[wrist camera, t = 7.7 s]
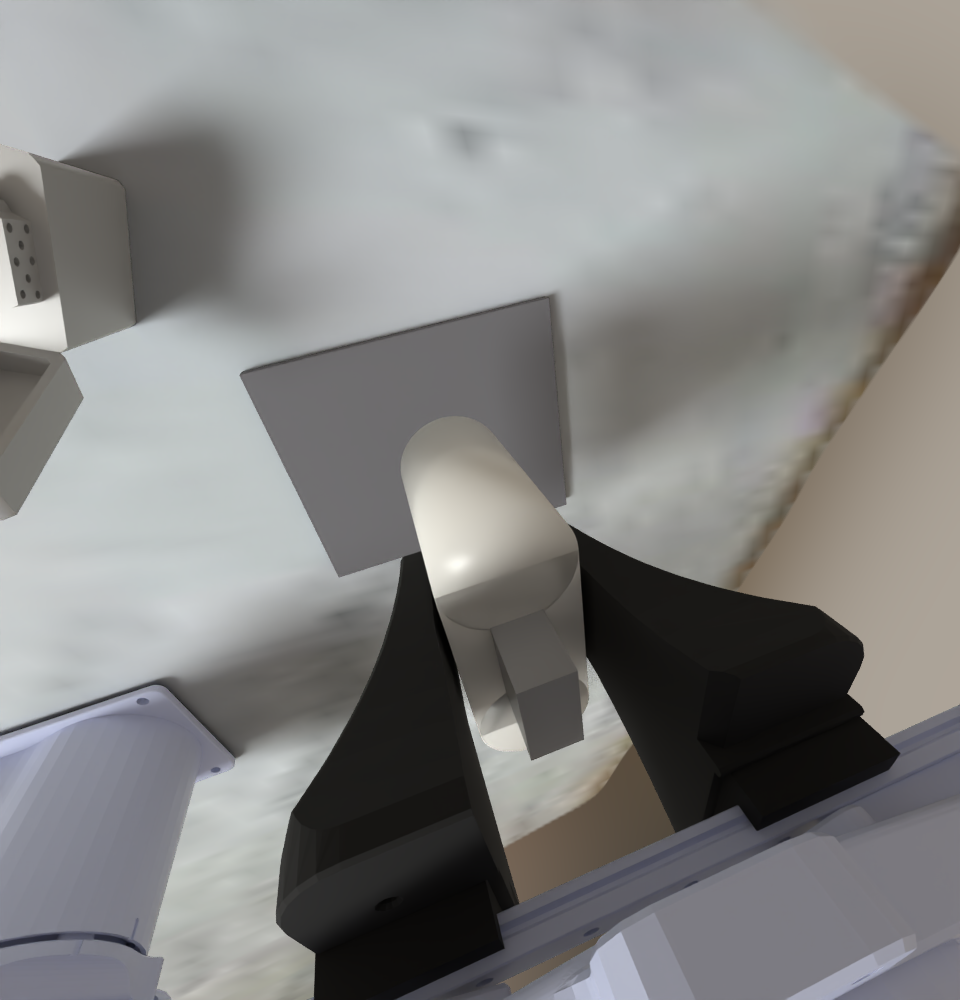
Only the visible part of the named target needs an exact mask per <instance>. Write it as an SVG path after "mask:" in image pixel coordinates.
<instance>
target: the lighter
mask: <svg viewBox="0 0 960 1000" xmlns="http://www.w3.org/2000/svg"><path fill="white" fill-rule="evenodd" d="M134 324H136V316H135V304H134V291H133V279H132V267H131V255H130V242H129V230H128V218H127V206H126V194H125V188H124V187H123V186H122V185H121V184H120V183H119V182H118V180H115V179H112V178H109V177H106V176H102V175H99V174H96V173H93V172H90V171H86V170H83V169H80V168H77V167H73V166H70V165H67V164H64V163H61V162H57V161H54V160H51V159H48V158H44V157H41V156H38V155H35V154H32V153H28V152H25V151H22V150H18V149H15V148H12V147H8V146H5V145H2V144H0V520H5V519H7V518H10V517H12V516H14V515H17V513H18V512H19V510H20V508H21V507H22V505H23V503H24V501H25V500H26V498H27V496H28V494H29V493H30V491H31V489H32V487H33V486H34V484H35V482H36V480H37V479H38V477H39V475H40V473H41V472H42V470H43V468H44V466H45V465H46V463H47V461H48V459H49V458H50V456H51V454H52V452H53V451H54V449H55V447H56V445H57V444H58V442H59V440H60V438H61V437H62V435H63V433H64V431H65V430H66V428H67V426H68V425H69V423H70V421H71V419H72V418H73V416H74V414H75V412H76V411H77V409H78V407H79V405H80V404H81V402H82V400H83V398H84V397H83V395H82V393H81V391H80V389H79V387H78V384H77V382H76V380H75V378H74V376H73V373H72V371H71V369H70V367H69V365H68V363H67V360H66V358H65V357H64V356H63V355H62V354H61V353H62V352H65V351H67V350H70V349H73V348H76V347H78V346H81V345H84V344H86V343H89V342H92V341H95V340H97V339H100V338H103V337H105V336H108V335H111V334H114V333H116V332H119V331H122V330H124V329H127V328H130V327H131V326H133V325H134Z"/></svg>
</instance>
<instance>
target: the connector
mask: <svg viewBox="0 0 960 1000" xmlns="http://www.w3.org/2000/svg"><path fill="white" fill-rule="evenodd" d="M401 476H402V480H403V484H404V488H405V492H406V495H407V499H408V503H409V507H410V510H411V514H412V518H413V522H414V525H415V529H416V533H417V537H418V540H419V544H420V548H421V552H422V555H423V559H424V563H425V567H426V570H427V574H428V578H429V582H430V585H431V589H432V593H433V597H434V600H435V603H436V606H437V609H438V612H439V615H440V618H441V621H442V624H443V627H444V629H445V632H446V635H447V638H448V641H449V644H450V647H451V650H452V653H453V656H454V659H455V662H456V665H457V668H458V671H459V674H460V677H461V680H462V683H463V686H464V689H465V691H466V694H467V697H468V700H469V703H470V706H471V709H472V712H473V715H474V718H475V721H476V724H477V727H478V730H479V733H480V736H481V738H482V740H483V741H484V743H485V744H486V745H488V746H489V747H491V748H493V749H496V750H499V751H507V752H513V751H522V750H528V753H529V755H530V758H531V761H532V760H534V759H537V758H539V757H542V756H544V755H547V754H549V753H552V752H554V751H556V750H559V749H561V748H564V747H566V746H569V745H571V744H574V743H576V742H579V741H581V740H584V734H583V723H582V714H583V712H584V711H585V709H586V706H587V704H588V700H589V690H588V676H587V661H586V647H585V633H584V619H583V605H582V591H581V576H580V562H579V549H578V542H577V539H576V536H575V534H574V532H573V531H572V529H571V528H570V526H569V525H568V524H567V523H566V521H565V520H564V519H563V518H562V517H561V515H560V514H559V513H558V512H557V510H556V509H555V508H554V507H553V506H552V504H551V503H550V502H549V501H548V500H547V498H546V497H545V496H544V495H543V494H542V492H541V491H540V490H539V489H538V488H537V486H536V485H535V484H534V483H533V481H532V480H531V479H530V478H529V477H528V475H527V474H526V473H525V472H524V471H523V469H522V468H521V467H520V466H519V465H518V463H517V462H516V461H515V460H514V458H513V457H512V456H511V455H510V454H509V452H508V451H507V450H506V449H505V448H504V446H503V445H502V444H501V443H500V442H499V440H498V439H497V438H496V437H495V436H494V434H493V433H492V432H491V431H490V430H489V429H488V428H487V427H486V426H485V425H483V424H482V423H480V422H478V421H476V420H474V419H471V418H468V417H462V416H450V417H444V418H440V419H437V420H434V421H432V422H430V423H428V424H426V425H425V426H423V427H422V428H421V429H419V430H418V431H417V432H416V433H415V434H414V435H413V436H412V437H411V439H410V440H409V442H408V443H407V445H406V447H405V449H404V452H403V455H402V459H401Z"/></svg>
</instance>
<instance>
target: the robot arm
mask: <svg viewBox="0 0 960 1000" xmlns="http://www.w3.org/2000/svg"><path fill="white" fill-rule="evenodd" d="M568 525H569V524H568ZM569 526H570V528H571V529H572V531H573V532H574V534H575V536H576V539H577V542H578V549H579V562H580V576H581V591H582V605H583V619H584V633H585V647H586V657H587V658H588V660H589V661H590V663H591V665H592V666H593V668H594V669H595V671H596V673H597V675H598V676H599V678H600V680H601V682H602V684H603V686H604V688H605V690H606V692H607V693H608V695H609V697H610V699H611V701H612V703H613V705H614V707H615V709H616V711H617V713H618V715H619V717H620V718H621V720H622V722H623V724H624V726H625V728H626V730H627V732H628V734H629V736H630V738H631V740H632V742H633V744H634V746H635V748H636V750H637V752H638V754H639V756H640V758H641V760H642V763H643V764H644V767H645V769H646V771H647V773H648V775H649V777H650V779H651V781H652V783H653V785H654V787H655V790H656V792H657V794H658V796H659V798H660V800H661V802H662V805H663V807H664V809H665V811H666V813H667V815H668V817H669V819H670V822H671V824H672V826H673V828H674V830H675V834H673V835H670V836H668V837H666V838H664V839H662V840H659V841H657V842H655V843H653V844H650V845H648V846H646V847H644V848H642V849H639V850H637V851H635V852H633V853H631V854H628V855H626V856H624V857H622V858H620V859H617V860H615V861H613V862H611V863H609V864H606V865H604V866H602V867H600V868H597V869H595V870H593V871H591V872H589V873H586V874H584V875H582V876H580V877H577V878H575V879H573V880H571V881H569V882H566V883H564V884H562V885H560V886H558V887H555V888H553V889H551V890H549V891H547V892H544V893H542V894H540V895H538V896H535V897H533V898H531V899H529V900H527V901H525V902H522V903H520V904H519V900H518V897H517V894H516V890H515V887H514V883H513V880H512V876H511V873H510V869H509V866H508V862H507V859H506V855H505V852H504V848H503V845H502V841H501V838H500V834H499V831H498V827H497V824H496V820H495V817H494V813H493V810H492V806H491V803H490V799H489V795H488V792H487V788H486V785H485V781H484V778H483V774H482V771H481V767H480V763H479V760H478V756H477V753H476V749H475V746H474V742H473V738H472V735H471V731H470V728H469V724H468V720H467V715H466V711H465V707H464V701H463V696H462V690H461V685H460V679H459V674H458V669H457V665H456V662H455V659H454V656H453V653H452V650H451V647H450V644H449V641H448V638H447V635H446V632H445V629H444V627H443V624H442V621H441V618H440V615H439V612H438V609H437V606H436V603H435V600H434V597H433V593H432V589H431V585H430V582H429V578H428V574H427V570H426V567H425V563H424V559H423V555H422V552H421V551H419V552H416V553H413V554H410V555H407V556H404V557H403V558H402V560H401V567H400V577H399V583H398V589H397V594H396V598H395V603H394V607H393V611H392V615H391V619H390V622H389V626H388V629H387V632H386V635H385V639H384V642H383V645H382V648H381V650H380V653H379V656H378V658H377V661H376V664H375V666H374V668H373V671H372V673H371V676H370V678H369V680H368V683H367V685H366V687H365V689H364V691H363V693H362V695H361V698H360V700H359V702H358V704H357V706H356V708H355V710H354V712H353V714H352V716H351V718H350V719H349V721H348V723H347V725H346V726H345V728H344V730H343V732H342V733H341V735H340V737H339V739H338V740H337V742H336V744H335V746H334V748H333V749H332V751H331V753H330V754H329V756H328V758H327V759H326V761H325V763H324V764H323V766H322V767H321V769H320V770H319V772H318V773H317V775H316V776H315V778H314V779H313V781H312V782H311V784H310V785H309V787H308V788H307V790H306V791H305V793H304V794H303V796H302V797H301V799H300V800H299V802H298V803H297V805H296V806H295V808H294V809H293V811H292V812H291V816H290V820H289V824H288V829H287V833H286V838H285V844H284V848H283V853H282V858H281V866H280V875H279V886H278V896H277V907H276V923H277V924H278V926H279V927H280V928H281V929H282V930H283V931H284V932H285V933H286V934H287V935H288V936H290V937H291V938H293V939H294V940H296V941H297V942H299V943H300V944H302V945H303V946H305V947H307V948H308V949H310V950H311V951H313V952H314V953H316V955H315V983H314V997H312V998H310V999H308V1000H960V705H958V706H956V707H953V708H951V709H949V710H947V711H945V712H943V713H940V714H938V715H936V716H933V717H931V718H929V719H927V720H925V721H923V722H920V723H918V724H916V725H914V726H911V727H909V728H907V729H905V730H903V731H900V732H898V733H896V734H894V735H891V736H889V737H887V738H885V739H884V738H883V737H882V736H881V735H880V734H879V733H878V732H876V731H875V730H874V729H873V728H872V727H871V726H870V725H869V724H868V723H867V722H865V721H864V720H863V719H862V718H861V717H860V716H861V715H863V713H864V710H863V708H862V706H861V705H860V704H858V703H857V702H856V701H855V700H854V699H853V698H852V697H851V696H849V695H848V694H847V693H848V691H849V689H850V687H851V685H852V683H853V681H854V679H855V677H856V675H857V673H858V671H859V669H860V667H861V664H862V661H863V658H864V651H863V644H862V642H861V641H860V640H859V639H858V637H856V636H855V635H854V634H852V633H851V632H849V631H848V630H847V629H846V628H844V627H843V626H842V625H840V624H839V623H838V622H836V621H835V620H834V619H832V618H831V617H829V616H828V615H827V614H826V613H824V612H823V611H821V610H820V609H818V608H817V607H815V606H810V605H803V604H798V603H792V602H786V601H780V600H774V599H768V598H762V597H757V596H753V595H748V594H744V593H740V592H735V591H731V590H727V589H723V588H719V587H715V586H711V585H708V584H704V583H701V582H698V581H694V580H691V579H688V578H684V577H681V576H678V575H675V574H672V573H669V572H667V571H664V570H661V569H659V568H656V567H654V566H651V565H648V564H646V563H643V562H641V561H639V560H636V559H634V558H632V557H630V556H627V555H625V554H623V553H621V552H619V551H617V550H615V549H613V548H611V547H609V546H607V545H605V544H603V543H601V542H599V541H597V540H595V539H594V538H592V537H590V536H588V535H586V534H584V533H583V532H581V531H579V530H578V529H576V528H574V527H572V526H571V525H569ZM234 764H235V757H234V756H233V755H232V754H231V753H230V752H229V751H228V750H227V749H226V748H225V747H224V746H223V745H222V744H221V743H220V742H219V741H218V740H217V739H216V738H215V737H214V736H213V735H212V734H211V733H210V732H209V731H208V730H207V729H206V728H205V727H204V726H203V725H202V724H201V723H200V722H199V721H198V720H197V719H196V718H195V717H194V716H193V715H192V714H191V713H190V712H189V711H188V710H187V709H186V708H185V707H184V706H183V705H182V704H181V703H180V702H179V700H178V699H177V698H176V697H175V696H174V695H173V694H172V693H171V692H170V691H169V690H168V689H167V688H165V687H164V686H161V685H152V686H148V687H145V688H142V689H139V690H136V691H133V692H130V693H127V694H125V695H122V696H119V697H116V698H113V699H110V700H107V701H104V702H101V703H98V704H95V705H92V706H89V707H86V708H83V709H80V710H77V711H74V712H71V713H68V714H65V715H62V716H59V717H56V718H53V719H50V720H47V721H44V722H41V723H38V724H35V725H32V726H29V727H26V728H23V729H20V730H17V731H14V732H11V733H8V734H5V735H2V736H0V1000H171V997H170V996H169V995H168V993H167V992H165V991H163V990H160V989H157V985H158V981H159V977H160V973H161V969H162V965H163V961H164V959H163V958H162V957H150V956H147V955H148V951H149V948H150V944H151V940H152V937H153V933H154V930H155V926H156V922H157V919H158V915H159V911H160V908H161V904H162V900H163V897H164V893H165V890H166V886H167V882H168V879H169V875H170V871H171V868H172V864H173V860H174V857H175V853H176V849H177V846H178V842H179V839H180V835H181V831H182V828H183V824H184V820H185V817H186V813H187V809H188V806H189V802H190V799H191V795H192V791H193V788H194V784H195V783H196V782H199V781H201V780H204V779H207V778H209V777H212V776H215V775H217V774H220V773H223V772H226V771H228V770H230V769H232V768H233V767H234ZM605 932H607V933H606V934H604V935H603V936H602V937H601V938H599V940H598V941H597V944H596V945H594V946H593V947H591V948H589V949H587V950H586V951H584V952H582V953H580V954H579V955H577V956H576V957H574V958H572V959H570V960H569V961H567V962H565V963H564V964H562V965H560V966H559V967H557V968H555V969H553V970H552V971H550V972H548V973H547V974H545V975H543V976H542V977H540V978H538V979H537V980H535V981H533V982H531V983H530V984H528V985H526V986H525V987H523V988H522V989H520V990H518V991H516V992H514V993H513V994H511V990H510V987H509V986H508V985H507V984H505V983H501V984H498V983H500V982H502V981H504V980H507V979H509V978H511V977H513V976H515V975H517V974H519V973H521V972H524V971H526V970H528V969H530V968H532V967H534V966H536V965H538V964H540V963H542V962H544V961H546V960H549V959H551V958H553V957H555V956H557V955H559V954H561V953H563V952H565V951H568V950H570V949H572V948H574V947H576V946H578V945H580V944H582V943H584V942H586V941H589V940H591V939H593V938H595V937H597V936H599V935H601V934H603V933H605ZM496 984H497V985H496Z"/></svg>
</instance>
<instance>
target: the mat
mask: <svg viewBox="0 0 960 1000" xmlns="http://www.w3.org/2000/svg"><path fill="white" fill-rule="evenodd" d="M240 377H241V379H242V381H243V383H244V385H245V387H246V390H247V392H248V394H249V396H250V398H251V400H252V402H253V404H254V406H255V408H256V410H257V412H258V414H259V416H260V418H261V420H262V422H263V424H264V426H265V428H266V430H267V432H268V434H269V436H270V438H271V440H272V442H273V444H274V446H275V448H276V451H277V453H278V455H279V457H280V459H281V461H282V463H283V465H284V467H285V469H286V471H287V473H288V475H289V477H290V479H291V481H292V483H293V485H294V487H295V489H296V491H297V493H298V495H299V497H300V499H301V501H302V503H303V505H304V507H305V509H306V511H307V514H308V516H309V518H310V520H311V522H312V524H313V526H314V528H315V530H316V532H317V534H318V536H319V538H320V540H321V542H322V544H323V546H324V548H325V550H326V552H327V554H328V556H329V558H330V560H331V562H332V564H333V566H334V568H335V570H336V572H337V574H338V577H342V576H345V575H348V574H351V573H354V572H357V571H361V570H364V569H367V568H370V567H373V566H376V565H379V564H382V563H386V562H389V561H392V560H395V559H398V558H401V557H404V556H407V555H410V554H413V553H416V552H419V551H421V548H420V544H419V540H418V537H417V533H416V529H415V525H414V522H413V518H412V514H411V510H410V507H409V503H408V499H407V495H406V492H405V488H404V484H403V480H402V476H401V459H402V455H403V452H404V449H405V447H406V445H407V443H408V442H409V440H410V439H411V437H412V436H413V435H414V434H415V433H416V432H417V431H418V430H419V429H421V428H422V427H423V426H425V425H426V424H428V423H430V422H432V421H434V420H437V419H440V418H444V417H450V416H462V417H468V418H471V419H474V420H476V421H478V422H480V423H482V424H483V425H485V426H486V427H487V428H488V429H489V430H490V431H491V432H492V433H493V434H494V436H495V437H496V438H497V439H498V440H499V442H500V443H501V444H502V445H503V446H504V448H505V449H506V450H507V451H508V452H509V454H510V455H511V456H512V457H513V458H514V460H515V461H516V462H517V463H518V465H519V466H520V467H521V468H522V469H523V471H524V472H525V473H526V474H527V475H528V477H529V478H530V479H531V480H532V481H533V483H534V484H535V485H536V486H537V488H538V489H539V490H540V491H541V492H542V494H543V495H544V496H545V497H546V498H547V500H548V501H549V502H550V503H551V504H552V506H553V507H554V508H557V507H560V506H563V505H566V493H565V481H564V470H563V458H562V446H561V434H560V422H559V410H558V399H557V387H556V375H555V363H554V351H553V339H552V328H551V316H550V304H549V298H546V297H542V298H538V299H534V300H530V301H526V302H522V303H518V304H514V305H510V306H506V307H502V308H498V309H494V310H490V311H486V312H481V313H477V314H473V315H469V316H465V317H461V318H457V319H453V320H449V321H445V322H441V323H437V324H433V325H429V326H425V327H421V328H417V329H413V330H409V331H405V332H401V333H397V334H393V335H389V336H385V337H381V338H377V339H373V340H369V341H364V342H360V343H356V344H352V345H348V346H344V347H340V348H336V349H332V350H328V351H324V352H320V353H316V354H312V355H308V356H304V357H300V358H296V359H292V360H288V361H284V362H280V363H276V364H272V365H268V366H264V367H260V368H256V369H252V370H248V371H243V372H242V373H241V374H240Z"/></svg>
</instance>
